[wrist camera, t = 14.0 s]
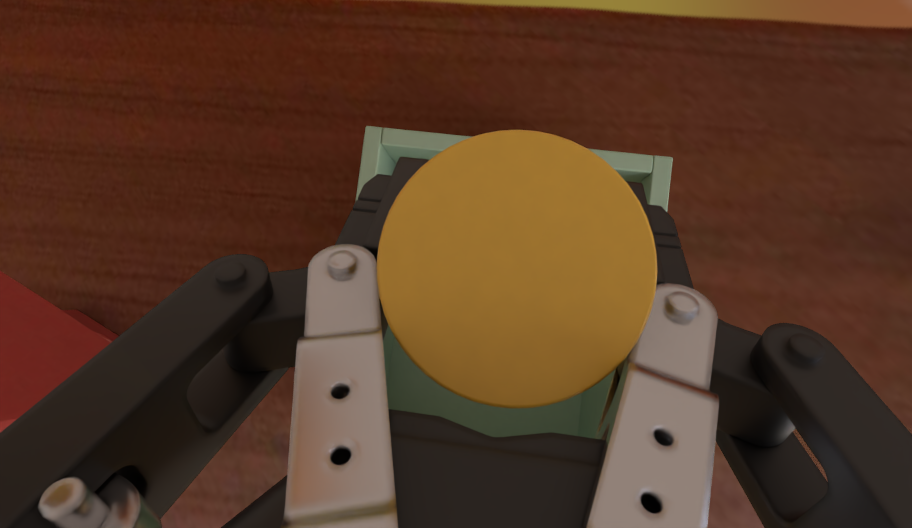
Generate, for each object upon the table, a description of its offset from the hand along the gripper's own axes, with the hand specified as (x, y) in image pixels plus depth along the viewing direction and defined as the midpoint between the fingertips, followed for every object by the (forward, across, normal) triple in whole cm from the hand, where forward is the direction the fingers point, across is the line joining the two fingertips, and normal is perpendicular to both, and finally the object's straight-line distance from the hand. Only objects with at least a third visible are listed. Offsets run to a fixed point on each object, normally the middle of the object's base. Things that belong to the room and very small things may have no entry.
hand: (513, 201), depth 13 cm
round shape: (-2, 0, +1) cm, 2 cm away
